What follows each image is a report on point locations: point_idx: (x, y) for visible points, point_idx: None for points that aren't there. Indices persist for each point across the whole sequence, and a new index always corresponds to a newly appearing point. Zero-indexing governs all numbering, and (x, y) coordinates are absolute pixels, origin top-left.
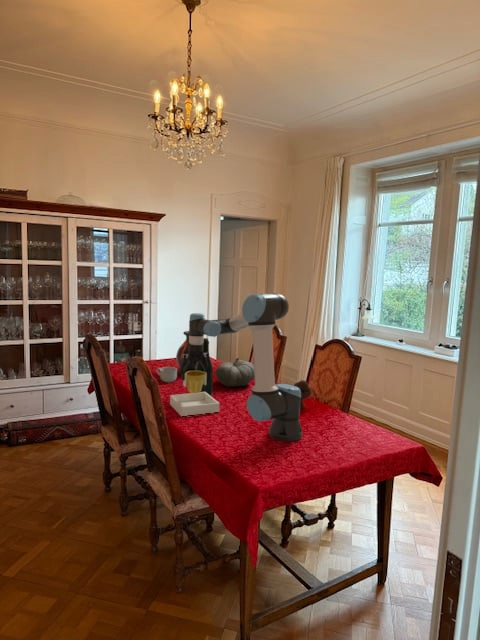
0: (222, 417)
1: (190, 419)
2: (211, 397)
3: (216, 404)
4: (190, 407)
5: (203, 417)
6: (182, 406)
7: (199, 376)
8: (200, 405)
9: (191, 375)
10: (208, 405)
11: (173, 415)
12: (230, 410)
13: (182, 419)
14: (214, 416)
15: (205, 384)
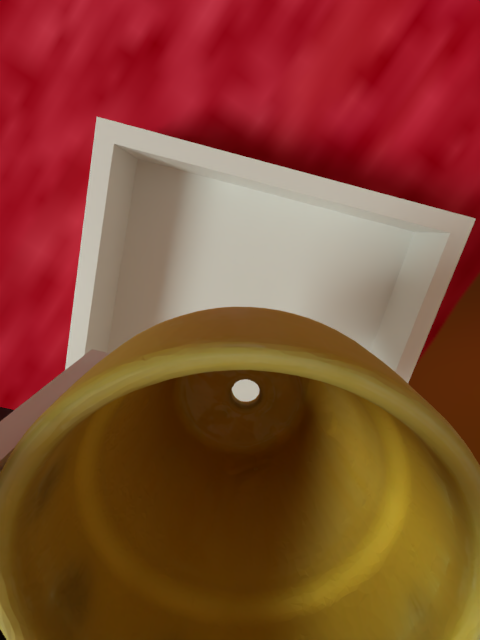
0: (170, 18)
1: (410, 138)
2: (82, 304)
3: (134, 129)
4: (393, 199)
5: (301, 116)
6: (458, 237)
7: (289, 341)
8: (299, 171)
9: (215, 627)
10: (217, 152)
11: (451, 283)
12: (21, 127)
13: (456, 175)
14: (214, 82)
15: (101, 355)
